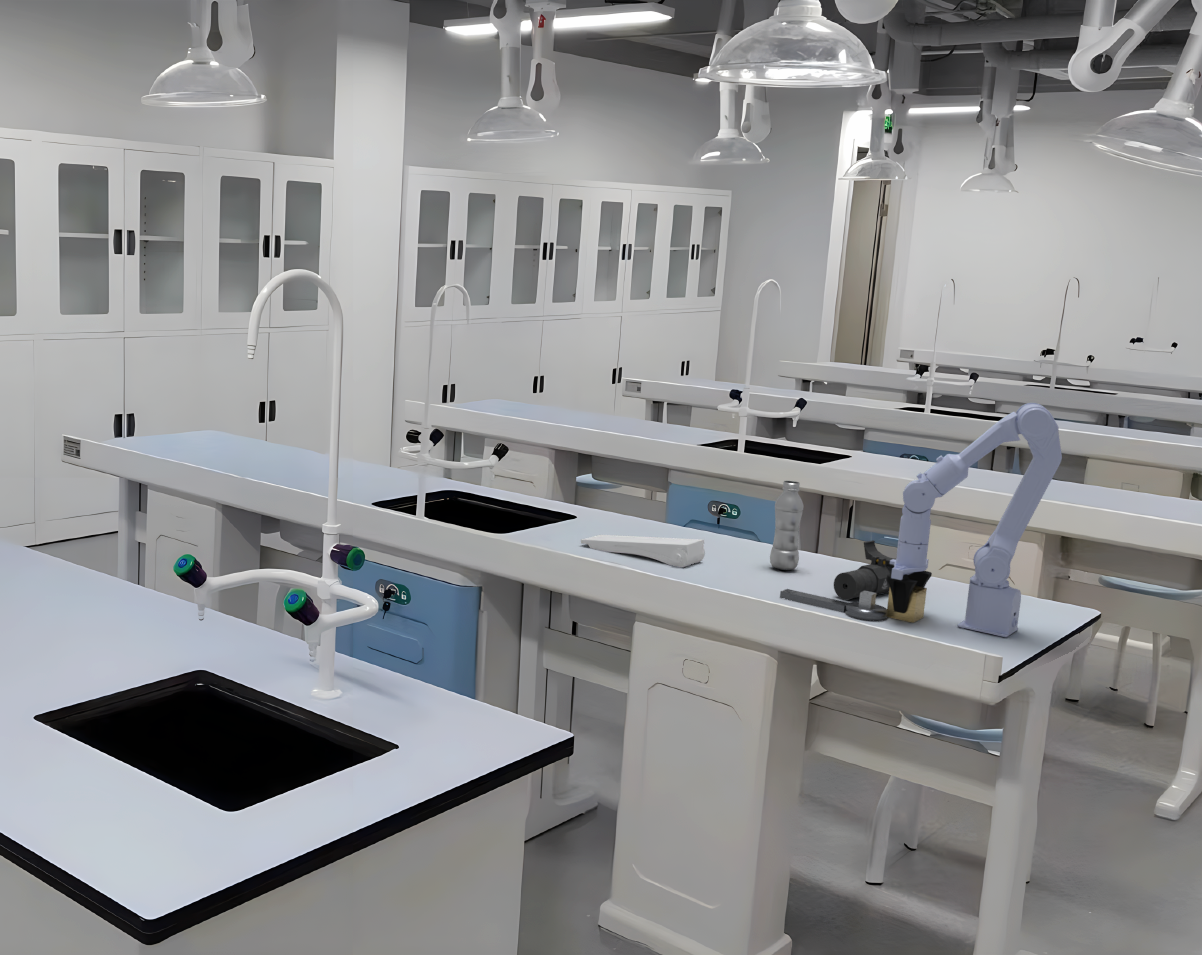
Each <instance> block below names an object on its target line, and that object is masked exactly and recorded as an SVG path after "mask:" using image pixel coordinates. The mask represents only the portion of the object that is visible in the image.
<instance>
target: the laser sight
mask: <svg viewBox="0 0 1202 955" xmlns="http://www.w3.org/2000/svg"><path fill="white" fill-rule="evenodd" d="M863 548H864V557H865V560H868V561H870V563H869V564H864V565H861V566H860V567H858V568H857V569H855V570H850V571H845V572H840V573H839V574H837V575H836V576H835V578H834V580H833V589H834V590H833V591H834V593H835V594H836V595H837V597H839V598H840V599H842V600H844V601H845V600H847V601H848V600H851V599H856V598H860V593H861V592H863V591H869V592H874V593H876V596H879V595H883V594H887V593H889V588H890V586H889V583H888V581H887V575H889V574H892V568H894V565H893V564H890V560H892V559H895V560H896V558H893V557H889V556H887V555H885V554H883V553H882V552H880V551H879V550H878V548H877V546H876V540H867V541H863Z"/></svg>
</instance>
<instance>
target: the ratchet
mask: <svg viewBox="0 0 1202 955" xmlns="http://www.w3.org/2000/svg"><path fill="white" fill-rule="evenodd" d="M779 598H780V599H782V598H785V599H784V600H787V599H788V601H791V600H792V601H791V602H796V603H800V604H805V605H809V606H814V607H818V608H822V609H826V610H827V609H828V610H831V611H834V612H835V611H836V612H838V613H839V612H840V613H843V614H844V613H845V616H847V617H850V618H852V619H855V620H859V621H864V622H883V621H886V620H887V619H888V617H887V612H888V610H887V607H885V606H882V605H879V604H877V603H876V602H877V595H876V593H874V592H869V591H863V592H861V593H860V597H859V601H858V602H857V601H852V602H846V601H845V600H844V601H842V600H838V599H835V598H830V597H826V596H825V597H824V596H821V595H817V594H812V593H807V592H803V591H797V590H794V589H790V588H786V589H782V590H780V594H779Z"/></svg>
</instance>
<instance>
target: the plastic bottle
mask: <svg viewBox="0 0 1202 955" xmlns="http://www.w3.org/2000/svg"><path fill="white" fill-rule="evenodd" d="M782 483H783V485H782V488H781V489H782V490H783V491H782V492H781V494H780V495H778V497H777V499H775V503H774V516H775V518H774V520H775V522H774V523H775V524H774V526H775V528H774V536H773V537H774V538H773V543H772V547H771V550H770V554H769V563H770V565H771V567H772V568H774V569H778V570H781V571H791V570H795V569H796V568H797V567H798V565H799V561H800V555H799V534H800V533H799V530H800V525H801V521H802V516H803V511H804V506H805V505H804V503H803V502H804V501H803V500H802V498H801V496H800V494H799V492H800V491H801V490H800V486H801V485H800V482H799V481H795V480H794V481H793V480H784V481H783V482H782Z"/></svg>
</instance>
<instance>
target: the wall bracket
mask: <svg viewBox="0 0 1202 955" xmlns="http://www.w3.org/2000/svg"><path fill="white" fill-rule="evenodd" d="M580 544H584V545H588V546H589V548H590V549H592V550H597V551H602V552H607V553H619V554H620V553H621V554H629V555H637V556H641V557H646V558H650V559H653V560H657V561H659V562H662V563H663V564H666V565H668V566H672V565H673V567H676V566H678V568H680V567H683V568H685V567H686V568H687V567H689V566H691V564H692V565H695V564H698V563H700V562H702V561H703V559H705V554H706V551H705V548H704V547H705V546H704V544H705V539H697V538H676V537H675V538H673V537H658V536H657V537H656V536H655V537H653V536H651V537H650V536H633V535H613V534H598V535H594V536H590V537H586V538H583V539H580ZM694 563H695V564H694Z"/></svg>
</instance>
